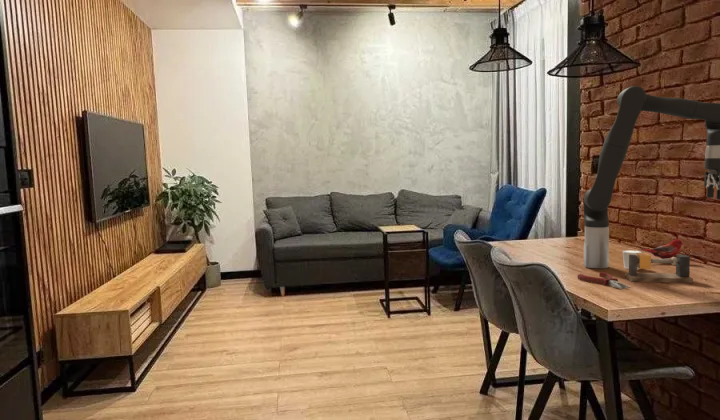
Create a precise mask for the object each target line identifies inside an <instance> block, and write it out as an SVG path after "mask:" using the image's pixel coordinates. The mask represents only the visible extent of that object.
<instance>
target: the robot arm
mask: <svg viewBox="0 0 720 420" xmlns="http://www.w3.org/2000/svg"><path fill="white" fill-rule="evenodd" d="M616 102H617V103H616V104H617V106H618V109H617V110H618V111H617V114H616V118H615V120H614V122H613V124H612V126H611V128H610V129H609V131H608V133H607V135H606V137H605V140H604V141H603V145H602V147H601V151H600V153H599V157H598V165H597V172H596V177H595V179H594V181H593V185H592V187H591V188H590V189H588V190H587V191H586V192H585V194H584V195H583V196H584V197H583V219H584V243H583V266H584V267H585V268H587V269H589V268H591V269H607V268H609V265H610V264H609V263H610V262H609V260H610V259H609V258H610V220H609V214H608V210H609V209H608V207H609V205H610V204H611V201H612V197H613V192H614V189H615V188H614V187H615V184H616V181H617V178H618V176H619V173H620V171H621V168H622V166H623V164H624V161H625V159H626V155H627V153H628V150H629V147H630V144H631V140H632V137H633V133H634V130H635V125H636V123H637V120H638V118H639V116H640V114H641V112H650V113H658V114H664V115H669V116H673V117H678V118H683V119H684V118H685V119H688V120H704V124H705V130H706V145H705V152H704V154H705V155H704V170H707V171H705V172H704V179H703V186H704V187H705V189H706V198H707V199H710V198H712V199H713V198H715V197H714V196H715V188H716V200H720V103H719V102H718V103H717V102H703V101H698V100H694V99H687V98H680V97H679V98H678V97H665V96H656V95H651V94H647V93H646V91H645V89H644V88H642V87H641V86H638V85H633V86H632V85H631V86H629V87H627V88H625V89H624V90H622V91H621V92H620V93H619V94H618V96H617V99H616Z"/></svg>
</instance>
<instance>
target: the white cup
mask: <svg viewBox="0 0 720 420" xmlns="http://www.w3.org/2000/svg"><path fill="white" fill-rule="evenodd" d="M636 253H643V252H642V250H641V251H640V250H633V249H632V250H631V249H628V250H625V249H624V250H622V258H623V259H622V260H623V261H622V262H623V268H624V269H626V270H629V255H636ZM637 270H641V269H640V268H638V267H637Z"/></svg>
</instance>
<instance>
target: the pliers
mask: <svg viewBox="0 0 720 420" xmlns="http://www.w3.org/2000/svg"><path fill="white" fill-rule="evenodd" d="M598 276H599V277H597V276H589V275H586V274H585V275H584V273H583V274H582V273H579V274H577V279H578V280H579V279H580V281H582V282H585V281H586V283H591V282H592V284H597V285H603V286H605V287H606V286H610V287H613V288H615V289H619V290H620V289H621V290H623V289H624V288H625V289H630V286H629V285H626V284H624V283H623V282H620V281H619V279H618V278H616V277H615V278H614V277H613V276H612V275H611V274H610V273H607V272H605V271H600V272H599V273H598Z"/></svg>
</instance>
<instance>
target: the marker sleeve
mask: <svg viewBox="0 0 720 420" xmlns="http://www.w3.org/2000/svg"><path fill="white" fill-rule="evenodd" d="M636 256H637V259H639V263H637V267H638V268H640V269H639V270H651V269H652V266H651V265H652V263H651V259H652V255H651V254H650V253H648V252H642V253H636Z"/></svg>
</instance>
